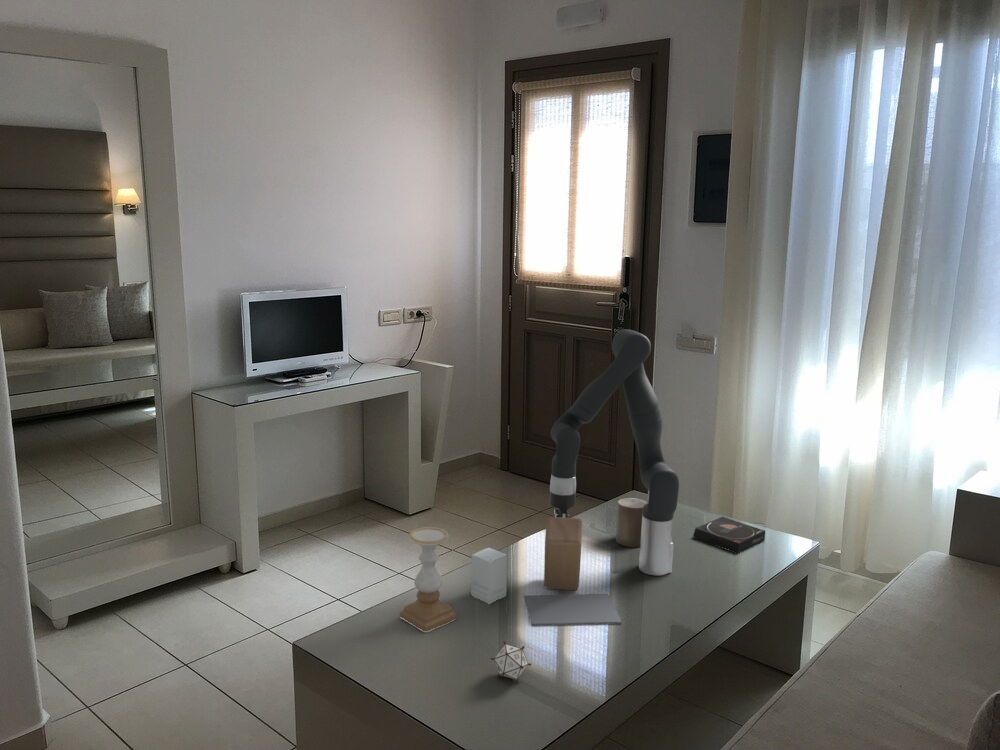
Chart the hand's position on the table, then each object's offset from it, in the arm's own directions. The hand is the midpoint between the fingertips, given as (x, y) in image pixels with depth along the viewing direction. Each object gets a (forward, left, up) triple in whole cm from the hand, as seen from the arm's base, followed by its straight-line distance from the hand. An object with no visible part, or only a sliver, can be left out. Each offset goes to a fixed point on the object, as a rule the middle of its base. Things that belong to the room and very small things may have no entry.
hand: (560, 545), depth 236 cm
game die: (+20, +51, -10) cm, 56 cm away
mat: (0, +20, -10) cm, 22 cm away
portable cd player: (-62, -26, -11) cm, 68 cm away
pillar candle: (-28, -25, -10) cm, 39 cm away
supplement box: (+22, +11, -10) cm, 27 cm away
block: (0, +4, -8) cm, 9 cm away
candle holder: (+39, +23, -10) cm, 46 cm away
